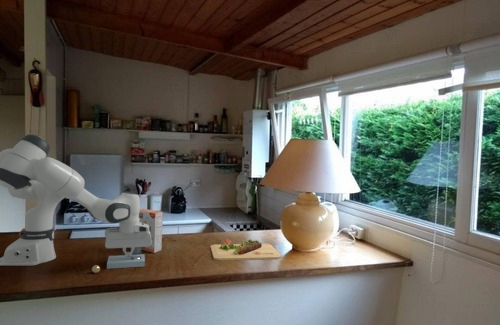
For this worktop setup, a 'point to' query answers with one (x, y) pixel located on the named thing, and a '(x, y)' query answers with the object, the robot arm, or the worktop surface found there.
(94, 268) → the brass ball
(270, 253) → the cutting board
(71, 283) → the worktop surface
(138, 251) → the block
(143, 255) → the deck
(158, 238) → the cracker box
